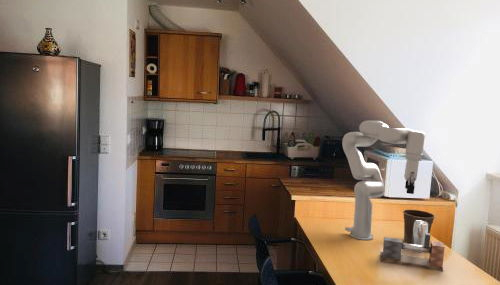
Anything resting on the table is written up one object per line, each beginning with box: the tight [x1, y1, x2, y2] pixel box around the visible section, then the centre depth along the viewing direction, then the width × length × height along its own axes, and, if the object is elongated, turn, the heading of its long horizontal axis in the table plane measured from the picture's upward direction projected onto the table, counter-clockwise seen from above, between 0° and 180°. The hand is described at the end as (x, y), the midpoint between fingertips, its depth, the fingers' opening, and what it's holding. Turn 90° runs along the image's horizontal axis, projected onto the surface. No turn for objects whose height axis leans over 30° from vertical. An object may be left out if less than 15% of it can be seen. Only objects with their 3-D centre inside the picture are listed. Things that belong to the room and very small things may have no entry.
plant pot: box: [402, 209, 436, 244], centre depth 222 cm, size 16×16×16 cm
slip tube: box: [402, 232, 432, 254], centre depth 191 cm, size 19×3×9 cm, turn 72°
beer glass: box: [413, 220, 428, 253], centre depth 209 cm, size 7×7×15 cm
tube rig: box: [379, 236, 445, 272], centre depth 192 cm, size 27×10×11 cm, turn 72°
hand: (409, 191), depth 197 cm, fingers open, 9 cm apart
